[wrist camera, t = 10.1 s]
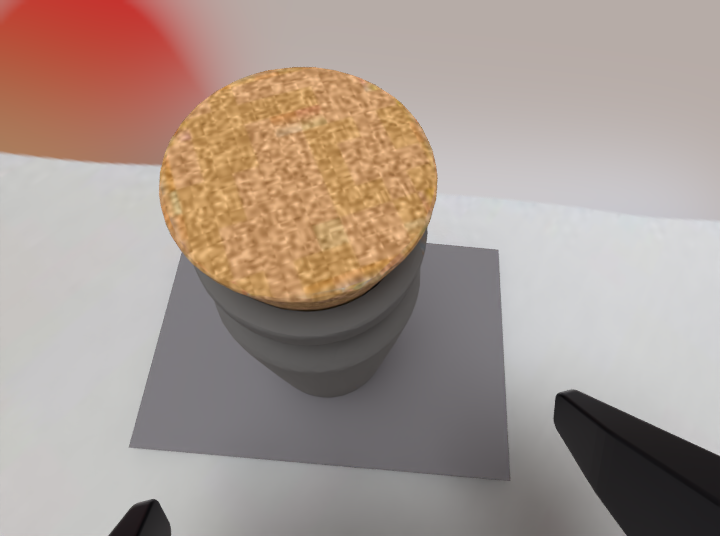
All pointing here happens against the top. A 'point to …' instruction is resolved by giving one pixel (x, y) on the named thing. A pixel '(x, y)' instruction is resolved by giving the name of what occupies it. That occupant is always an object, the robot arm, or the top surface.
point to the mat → (353, 410)
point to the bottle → (304, 219)
